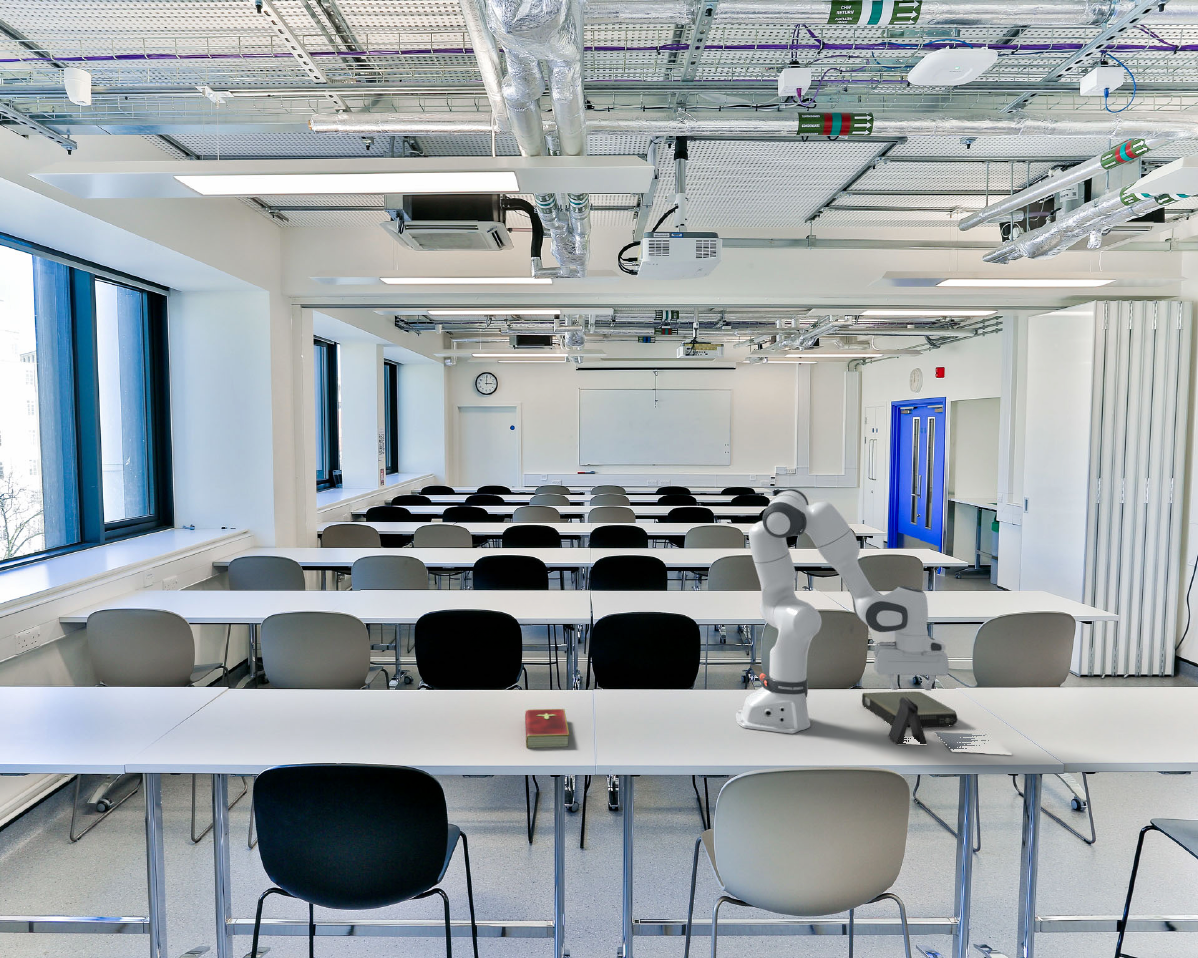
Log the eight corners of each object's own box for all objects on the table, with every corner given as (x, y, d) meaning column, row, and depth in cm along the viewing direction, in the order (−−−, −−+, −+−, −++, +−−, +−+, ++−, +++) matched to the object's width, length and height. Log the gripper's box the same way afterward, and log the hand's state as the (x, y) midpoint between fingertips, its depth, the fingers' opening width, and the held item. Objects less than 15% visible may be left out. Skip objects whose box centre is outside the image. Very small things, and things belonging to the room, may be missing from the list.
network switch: (915, 702, 252) (915, 687, 252) (965, 727, 230) (966, 711, 229) (854, 707, 246) (854, 692, 246) (900, 733, 223) (901, 717, 223)
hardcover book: (525, 749, 207) (526, 734, 206) (525, 722, 227) (525, 708, 227) (569, 748, 208) (569, 733, 208) (564, 721, 229) (564, 707, 229)
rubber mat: (952, 752, 209) (952, 750, 209) (934, 733, 223) (934, 731, 223) (1012, 755, 207) (1012, 753, 207) (990, 736, 221) (990, 734, 221)
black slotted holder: (895, 744, 214) (897, 703, 213) (887, 736, 220) (889, 696, 219) (927, 745, 214) (928, 704, 213) (918, 737, 220) (919, 697, 219)
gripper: (876, 644, 213) (876, 692, 214) (951, 645, 211) (950, 693, 212) (871, 638, 220) (870, 685, 220) (943, 639, 218) (943, 686, 218)
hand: (910, 689), depth 216 cm, fingers open, 8 cm apart
